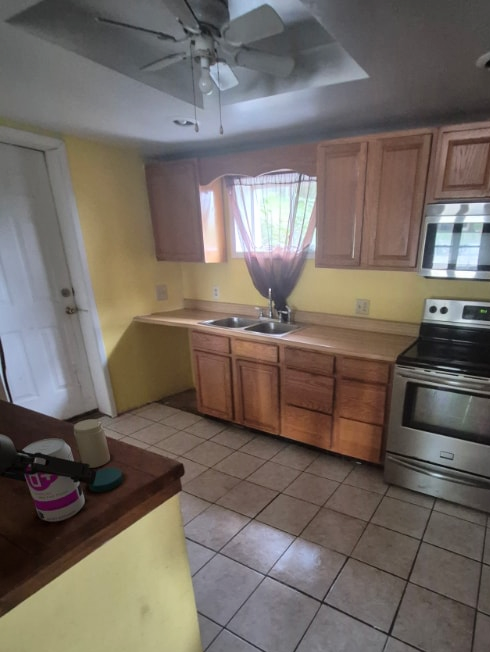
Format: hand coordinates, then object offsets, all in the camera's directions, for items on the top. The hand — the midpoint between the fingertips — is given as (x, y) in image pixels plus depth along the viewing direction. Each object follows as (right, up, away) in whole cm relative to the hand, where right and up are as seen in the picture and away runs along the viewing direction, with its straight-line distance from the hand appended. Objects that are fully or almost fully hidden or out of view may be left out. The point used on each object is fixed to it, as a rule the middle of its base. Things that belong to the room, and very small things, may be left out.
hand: (61, 476), depth 76 cm
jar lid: (+4, -2, +9) cm, 10 cm away
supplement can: (0, -7, +1) cm, 7 cm away
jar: (-3, 0, +18) cm, 18 cm away
